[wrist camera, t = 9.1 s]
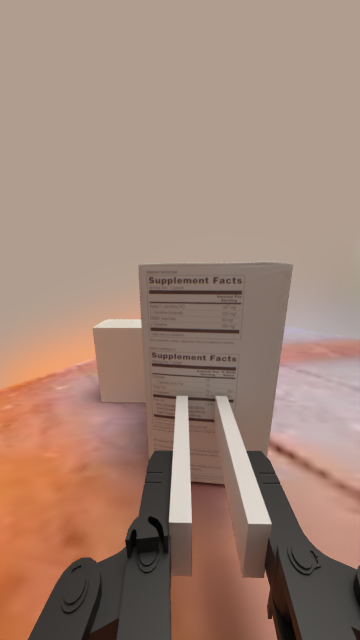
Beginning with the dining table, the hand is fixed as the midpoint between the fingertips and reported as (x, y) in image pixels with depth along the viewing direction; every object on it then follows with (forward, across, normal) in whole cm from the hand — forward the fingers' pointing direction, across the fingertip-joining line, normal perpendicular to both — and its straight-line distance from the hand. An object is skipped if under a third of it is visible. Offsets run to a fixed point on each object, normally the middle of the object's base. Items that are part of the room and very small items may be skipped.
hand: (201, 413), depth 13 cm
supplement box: (+5, +1, -7) cm, 9 cm away
